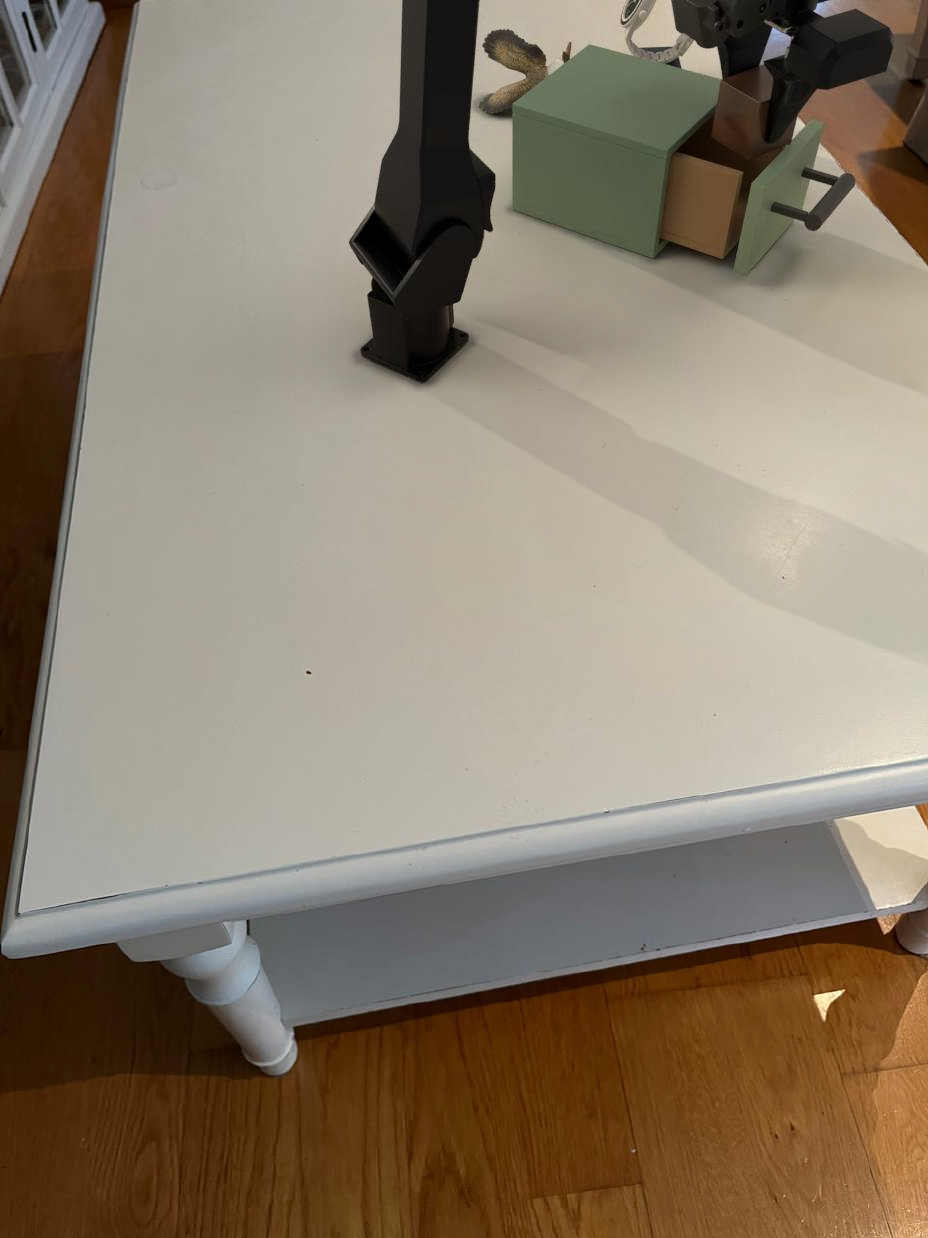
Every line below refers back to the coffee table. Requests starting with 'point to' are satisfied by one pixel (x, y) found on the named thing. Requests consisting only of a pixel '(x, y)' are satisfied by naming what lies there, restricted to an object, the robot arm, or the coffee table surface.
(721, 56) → the robot arm
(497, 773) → the coffee table surface
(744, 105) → the block
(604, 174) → the cabinet
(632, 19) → the watch
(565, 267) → the coffee table surface
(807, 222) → the drawer
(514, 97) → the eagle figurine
